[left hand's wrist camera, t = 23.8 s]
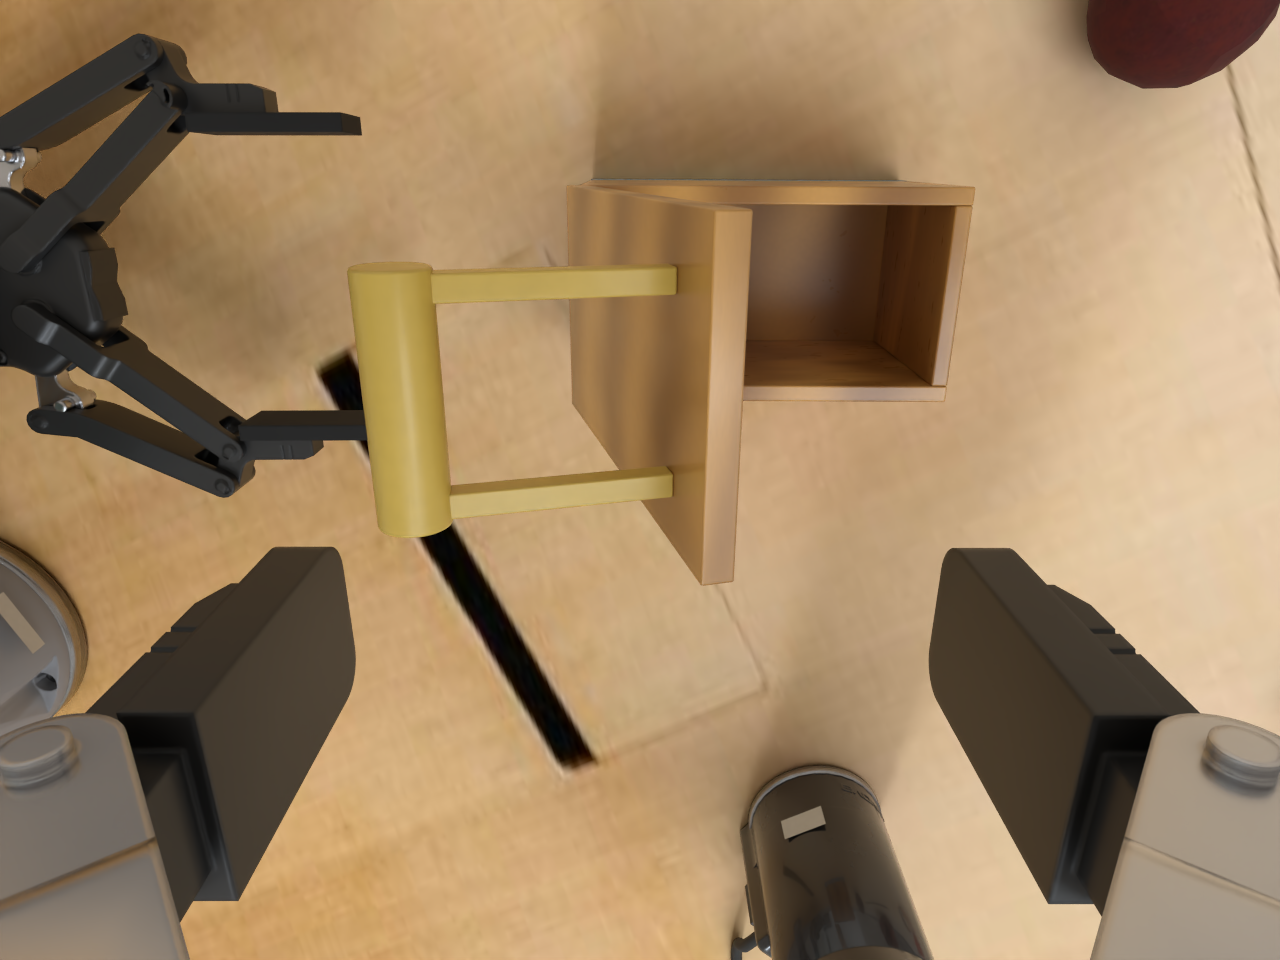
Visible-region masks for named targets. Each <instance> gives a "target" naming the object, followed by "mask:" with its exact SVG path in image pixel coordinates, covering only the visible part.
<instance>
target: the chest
mask: <svg viewBox="0 0 1280 960" xmlns="http://www.w3.org/2000/svg"><path fill="white" fill-rule="evenodd" d="M581 185H588V186H595V187H602V188H609V189H616V190H623V191H630V192H637V193H644V194H651V195H658V196H665V197H671V198H678V199H685V200H692V201H699V202H706V203H713V204H720V205H727V206H734V207H741V208H748V209H751V210H752V212H753V214H752V233H751V252H750V272H749V291H748V310H747V330H746V349H745V368H744V388H743V401H885V402H944V401H945V396H946V389H947V387H946V385H947V381H948V374H949V367H950V360H951V353H952V346H953V339H954V332H955V325H956V318H957V311H958V304H959V297H960V290H961V283H962V277H963V270H964V263H965V256H966V249H967V242H968V235H969V228H970V221H971V214H972V206H971V205H973V201H974V194H975V187H968V186H956V185H944V184H932V183H920V182H908V181H896V180H700V179H591V181H588V182H586V183H584V184H581Z"/></svg>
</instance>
